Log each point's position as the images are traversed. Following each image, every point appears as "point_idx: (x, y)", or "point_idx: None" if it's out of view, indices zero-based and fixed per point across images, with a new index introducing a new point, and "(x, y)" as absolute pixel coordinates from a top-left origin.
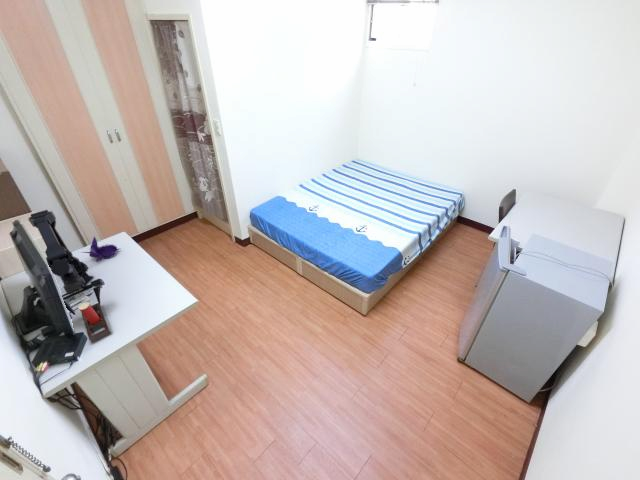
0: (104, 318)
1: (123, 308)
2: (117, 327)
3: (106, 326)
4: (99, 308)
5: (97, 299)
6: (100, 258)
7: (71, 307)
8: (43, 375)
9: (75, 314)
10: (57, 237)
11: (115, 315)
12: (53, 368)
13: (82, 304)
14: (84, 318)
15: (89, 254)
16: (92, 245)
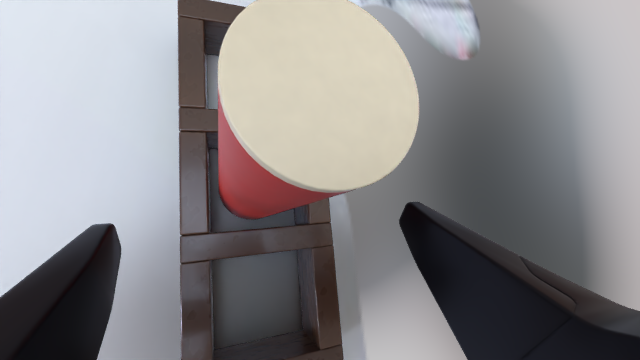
0: (182, 135)
1: (9, 236)
2: (134, 54)
3: (187, 34)
4: (195, 304)
5: (64, 284)
6: None
7: (457, 329)
8: (469, 39)
9: (403, 214)
10: None
11: (110, 189)
12: (444, 43)
13: (351, 144)
14: (324, 243)
15: None
16: None
